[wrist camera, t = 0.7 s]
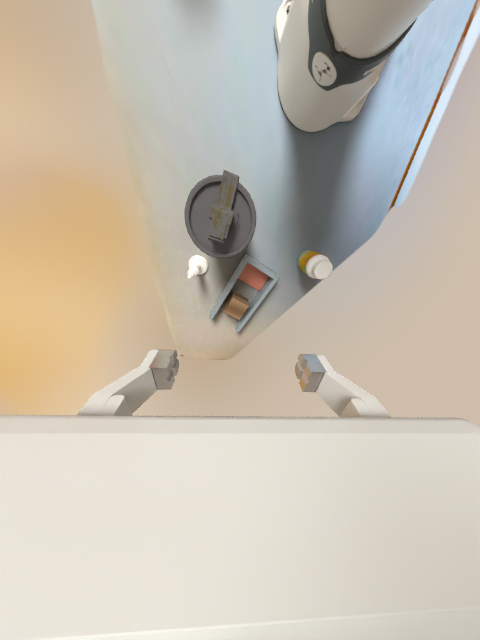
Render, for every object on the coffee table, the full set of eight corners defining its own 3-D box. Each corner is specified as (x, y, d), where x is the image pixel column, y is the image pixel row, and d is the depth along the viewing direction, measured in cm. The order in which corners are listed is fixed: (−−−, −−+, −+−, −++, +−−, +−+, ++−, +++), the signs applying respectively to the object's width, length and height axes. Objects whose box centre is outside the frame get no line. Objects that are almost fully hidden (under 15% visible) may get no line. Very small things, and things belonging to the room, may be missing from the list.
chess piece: (211, 267, 45) (206, 278, 36) (198, 277, 46) (190, 291, 38) (198, 251, 43) (190, 259, 34) (185, 263, 44) (173, 274, 36)
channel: (245, 253, 43) (246, 256, 40) (276, 273, 46) (279, 277, 43) (210, 311, 52) (208, 318, 49) (238, 325, 55) (238, 332, 52)
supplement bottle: (292, 261, 45) (306, 271, 36) (309, 245, 43) (328, 251, 35) (304, 274, 47) (319, 287, 39) (321, 260, 45) (341, 270, 37)
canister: (240, 249, 43) (244, 271, 26) (199, 235, 41) (174, 249, 24) (255, 200, 38) (272, 185, 21) (209, 181, 36) (186, 148, 19)
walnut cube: (233, 290, 49) (233, 297, 44) (247, 299, 50) (248, 306, 46) (224, 304, 51) (223, 312, 47) (238, 311, 52) (239, 320, 48)
